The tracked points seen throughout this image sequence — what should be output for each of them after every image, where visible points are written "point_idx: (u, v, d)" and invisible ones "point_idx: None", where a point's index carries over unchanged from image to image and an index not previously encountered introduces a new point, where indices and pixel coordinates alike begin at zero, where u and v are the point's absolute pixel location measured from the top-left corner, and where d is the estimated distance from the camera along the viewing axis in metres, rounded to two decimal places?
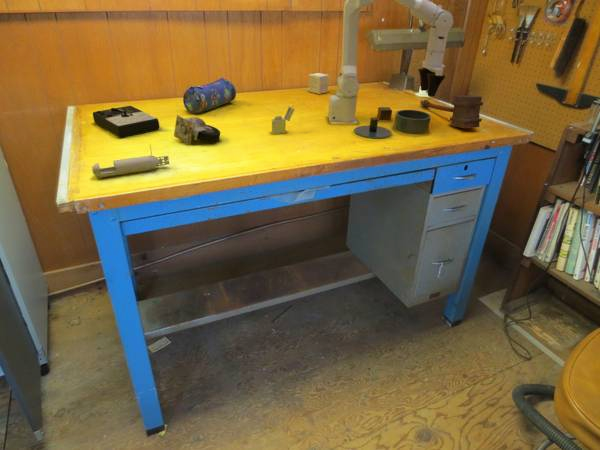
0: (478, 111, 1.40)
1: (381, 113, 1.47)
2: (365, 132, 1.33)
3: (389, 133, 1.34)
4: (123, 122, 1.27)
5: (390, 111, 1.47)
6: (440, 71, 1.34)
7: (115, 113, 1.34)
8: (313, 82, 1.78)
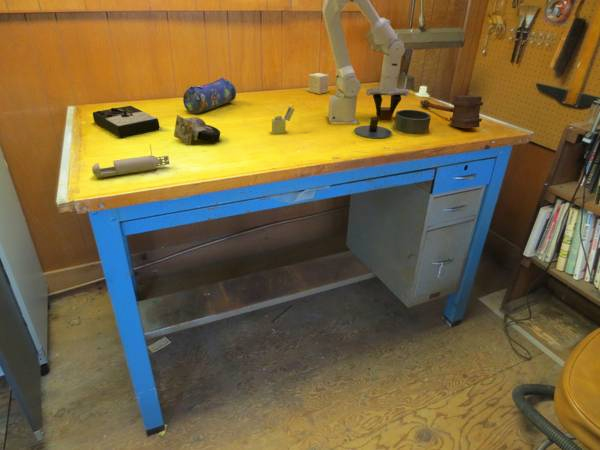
0: (478, 111, 1.40)
1: (381, 113, 1.47)
2: (365, 132, 1.33)
3: (389, 133, 1.34)
4: (123, 122, 1.26)
5: (390, 111, 1.47)
6: (366, 91, 1.44)
7: (115, 113, 1.34)
8: (313, 82, 1.78)
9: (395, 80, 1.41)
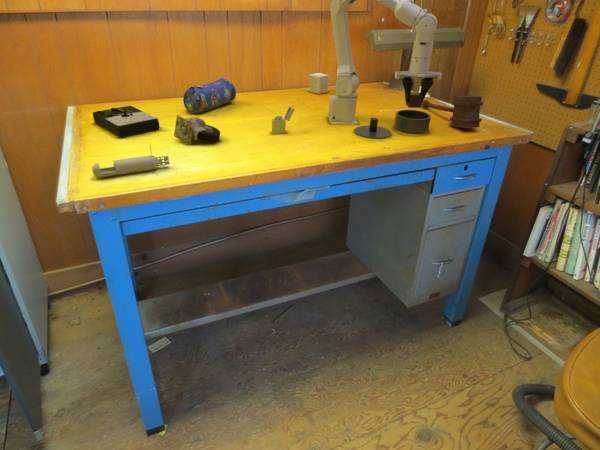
0: (478, 111, 1.40)
1: (411, 98, 1.34)
2: (365, 132, 1.33)
3: (389, 133, 1.34)
4: (123, 122, 1.26)
5: (420, 96, 1.34)
6: (396, 74, 1.31)
7: (115, 113, 1.34)
8: (313, 82, 1.78)
9: (428, 61, 1.28)
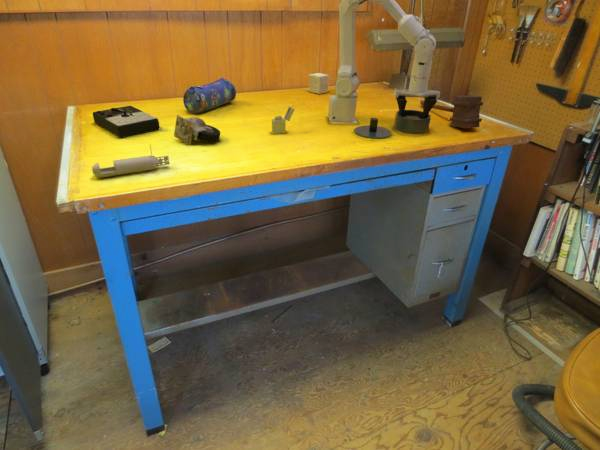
0: (478, 111, 1.40)
1: None
2: (365, 132, 1.33)
3: (389, 133, 1.34)
4: (123, 122, 1.26)
5: None
6: (395, 92, 1.34)
7: (115, 113, 1.34)
8: (313, 82, 1.78)
9: (426, 81, 1.30)
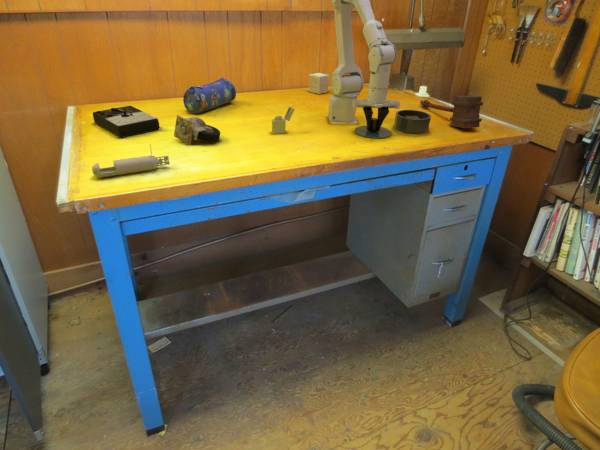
0: (478, 111, 1.40)
1: None
2: (365, 132, 1.33)
3: (389, 133, 1.34)
4: (123, 122, 1.26)
5: None
6: (353, 103, 1.30)
7: (115, 113, 1.34)
8: (313, 82, 1.78)
9: (384, 91, 1.27)
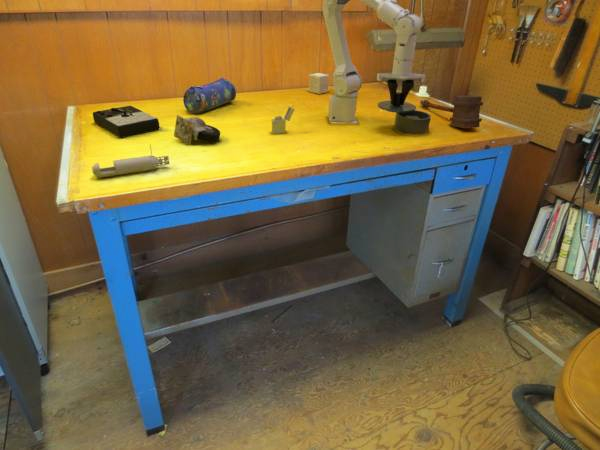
0: (478, 111, 1.40)
1: None
2: (389, 106, 1.32)
3: (413, 107, 1.32)
4: (123, 122, 1.26)
5: None
6: (377, 76, 1.29)
7: (115, 113, 1.34)
8: (313, 82, 1.78)
9: (410, 63, 1.25)
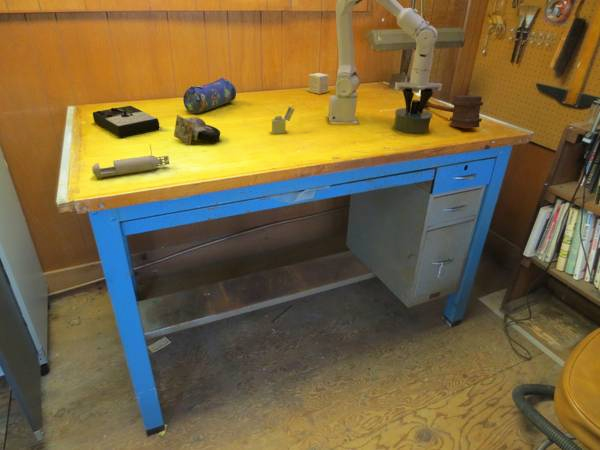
0: (478, 111, 1.40)
1: None
2: (406, 114, 1.36)
3: (430, 115, 1.36)
4: (123, 122, 1.26)
5: None
6: (396, 85, 1.33)
7: (115, 113, 1.34)
8: (313, 82, 1.78)
9: (428, 73, 1.29)
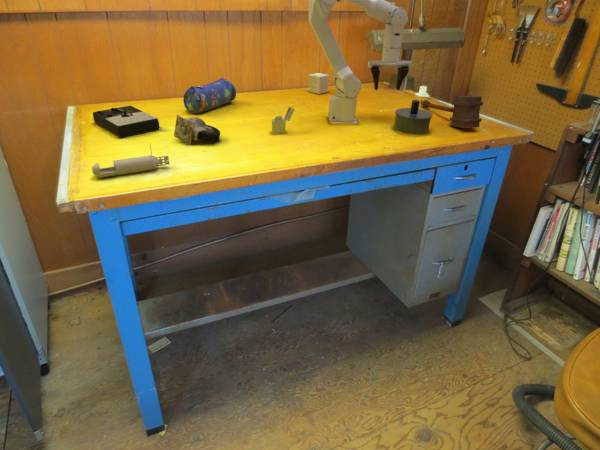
0: (478, 111, 1.40)
1: None
2: (406, 114, 1.36)
3: (430, 115, 1.36)
4: (123, 122, 1.26)
5: None
6: (368, 63, 1.41)
7: (115, 113, 1.34)
8: (313, 82, 1.78)
9: (397, 51, 1.37)
